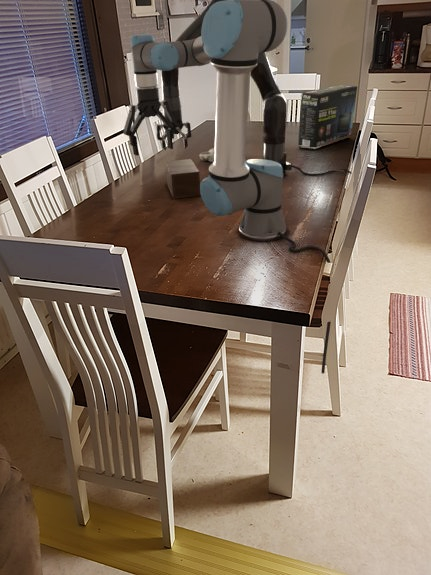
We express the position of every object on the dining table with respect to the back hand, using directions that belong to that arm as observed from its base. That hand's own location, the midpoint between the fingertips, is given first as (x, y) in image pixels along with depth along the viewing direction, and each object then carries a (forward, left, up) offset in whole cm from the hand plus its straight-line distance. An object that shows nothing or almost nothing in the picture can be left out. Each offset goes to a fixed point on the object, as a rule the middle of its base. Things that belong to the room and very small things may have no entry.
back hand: (175, 148), depth 193 cm
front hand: (+15, +26, +7) cm, 31 cm away
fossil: (-27, -21, -13) cm, 37 cm away
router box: (-90, -22, -13) cm, 94 cm away
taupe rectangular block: (+2, +13, -13) cm, 19 cm away
